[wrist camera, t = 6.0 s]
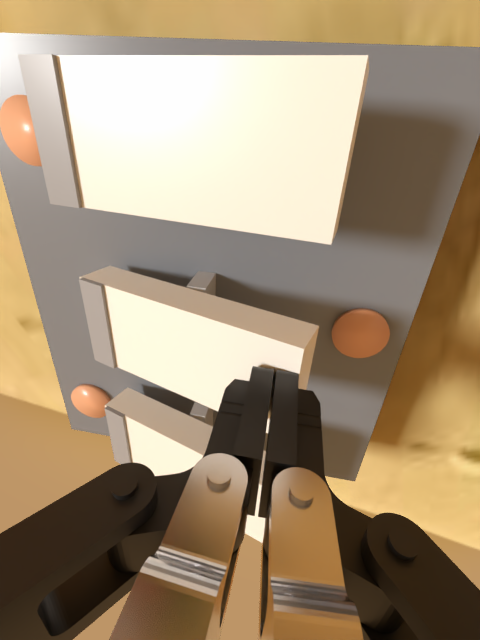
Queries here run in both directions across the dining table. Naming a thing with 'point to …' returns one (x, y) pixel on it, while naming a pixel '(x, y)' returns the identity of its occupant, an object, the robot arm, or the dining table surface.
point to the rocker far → (163, 441)
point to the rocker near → (200, 136)
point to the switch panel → (257, 249)
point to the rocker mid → (189, 335)
